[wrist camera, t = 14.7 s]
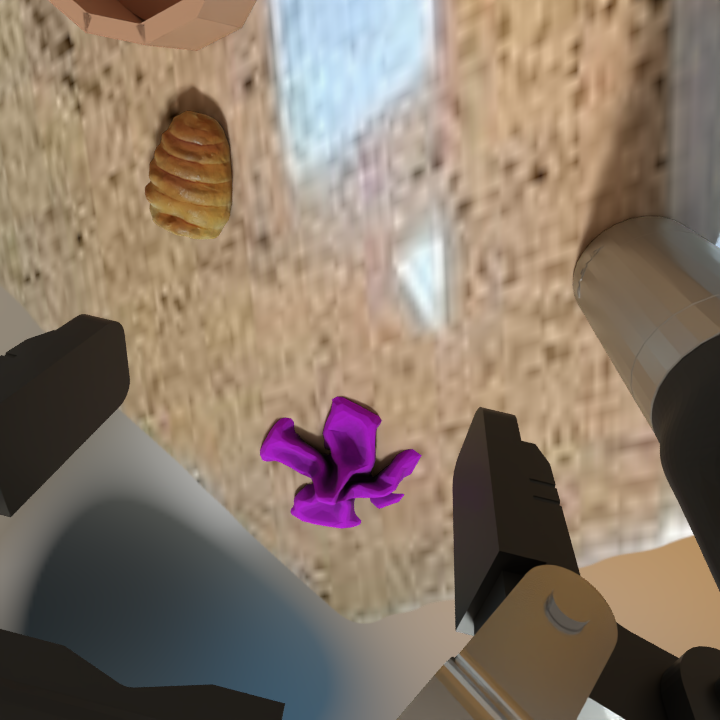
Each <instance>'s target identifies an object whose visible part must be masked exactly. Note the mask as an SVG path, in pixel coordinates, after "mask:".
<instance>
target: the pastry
mask: <svg viewBox="0 0 720 720" xmlns="http://www.w3.org/2000/svg"><path fill="white" fill-rule="evenodd" d="M149 178H150V180H151V181H150V183H149V184H148V185H146V187H145V195H146V198H147V200H148V201H149V202H150V212H151V215H152V217H153V221H154V222H155V224H156V225H158V226H159V227H162V228H163V229H165V230H167V231H169V232H171V233H174V234H176V235H179V236H186V237H189V238H193V239H214V238H216V237H217V236H219V234H220V233H221V231H222V229H223V227H224V226H225V224H226V223H227V221H228V220H229V216H230V211H231V205H232V175H231V161H230V150H229V144H228V141H227V139H226V136H225V133H224V130H223V128H222V127H221V125H220V124H219V123H218V122H217V121H216V120H215V119H214V118H212V117H210V116H208V115H205V114H201V113H196V112H193V111H185V112H183V113H181V114H180V115H178V116H176V117H174V118H173V120H172V123H171V124H170V126H169V128H168V130H166V131H165V132H164V133H163V134H162V139H161V142H160V144H159V145H158V147H157V148H156V150H155V152H154V159H153V160H152V161H151V162H150V171H149Z"/></svg>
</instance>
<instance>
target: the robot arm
mask: <svg viewBox="0 0 720 720" xmlns="http://www.w3.org/2000/svg"><path fill="white" fill-rule="evenodd" d="M573 290H574V296H575V298H576V300H577V303H578V305H579V307H580V308H581V310H582V312H583V313H584V315H585V317H586V318H587V320H588V322H589V324H590V326H591V327H592V329H593V331H594V332H595V334H596V336H597V338H598V339H599V341H600V343H601V344H602V346H603V348H604V349H605V351H606V353H607V354H608V356H609V358H610V359H611V361H612V363H613V365H614V366H615V368H616V370H617V371H618V373H619V375H620V376H621V378H622V380H623V381H624V383H625V385H626V386H627V388H628V390H629V392H630V393H631V395H632V397H633V398H634V400H635V402H636V403H637V405H638V407H639V408H640V410H641V411H642V413H643V415H644V417H645V418H646V420H647V422H648V423H649V425H650V427H651V428H652V430H653V432H654V433H655V435H656V437H657V439H658V441H659V443H660V458H661V464H662V467H663V470H664V473H665V476H666V478H667V480H668V482H669V484H670V486H671V488H672V490H673V492H674V494H675V496H676V498H677V500H678V502H679V504H680V506H681V508H682V511H683V513H684V515H685V517H686V519H687V521H688V523H689V525H690V527H691V530H692V532H693V534H694V536H695V538H696V540H697V543H698V545H699V547H700V549H701V551H702V554H703V556H704V558H705V560H706V562H707V565H708V567H709V569H710V571H711V573H712V576H713V578H714V580H715V582H716V584H717V587H718V589H719V591H720V248H719V247H717V246H716V245H714V244H712V243H711V242H709V241H708V240H707V239H705V238H703V237H702V236H700V235H699V234H697V233H695V232H694V231H692V230H690V229H689V228H687V227H686V226H684V225H682V224H680V223H678V222H676V221H674V220H672V219H668V218H664V217H659V216H644V217H638V218H633V219H629V220H626V221H623V222H621V223H618V224H616V225H614V226H612V227H611V228H609V229H607V230H605V231H604V232H602V233H601V234H600V235H599V236H598V237H596V238H595V239H594V240H593V241H592V242H591V243H590V244H589V246H588V247H587V248H586V249H585V250H584V252H583V253H582V255H581V257H580V259H579V260H578V262H577V265H576V268H575V271H574V276H573ZM129 384H130V376H129V368H128V359H127V351H126V342H125V334H124V329H123V327H122V325H121V324H120V323H119V322H116V321H112V320H108V319H103V318H99V317H95V316H90V315H86V314H82V315H79V316H77V317H75V318H74V319H72V320H71V321H69V322H68V323H66V324H65V325H63V326H62V327H60V328H58V329H57V330H53V331H50V332H47V333H44V334H41V335H38V336H35V337H32V338H29V339H27V340H25V341H24V342H22V343H20V344H19V345H17V346H15V347H14V348H12V349H11V350H9V351H8V352H6V355H5V356H2V355H1V356H0V515H4V516H8V517H11V516H12V515H13V514H14V513H15V512H16V511H17V510H18V509H19V508H20V507H21V506H22V505H23V504H24V503H25V502H26V501H27V500H28V499H29V498H30V497H31V496H32V495H33V494H34V493H35V492H36V491H37V490H38V489H39V488H40V487H41V486H42V485H43V484H44V483H45V482H46V481H47V480H48V479H49V478H50V477H51V476H52V475H53V474H54V473H55V472H56V471H57V470H58V469H59V468H60V466H62V465H63V463H64V462H65V461H66V460H67V459H68V458H69V457H70V456H71V455H72V454H73V453H74V452H75V451H76V450H77V449H78V448H79V447H80V446H81V445H82V444H83V443H84V442H85V441H86V440H87V439H88V438H89V437H90V436H91V435H92V434H93V433H94V432H95V431H96V430H97V429H98V428H99V427H100V426H101V425H102V424H103V423H104V422H105V421H106V420H107V419H108V418H109V417H110V416H111V415H112V414H113V413H114V412H115V411H116V410H117V409H118V407H119V406H120V405H121V404H122V403H123V401H124V399H125V398H126V395H127V393H128V389H129ZM559 504H560V499H559V496H558V492H557V489H556V488H555V481H554V477H553V474H552V470H551V466H550V463H549V462H548V461H547V459H546V458H545V457H544V455H543V454H542V453H541V451H540V450H539V449H538V447H537V446H536V444H533V443H528V442H524V441H521V437H520V432H519V428H518V423H517V419H516V416H515V415H512V414H508V413H503V412H499V411H495V410H491V409H486V408H482V407H480V408H478V410H477V411H476V413H475V415H474V418H473V420H472V423H471V425H470V428H469V431H468V433H467V436H466V438H465V441H464V443H463V446H462V448H461V451H460V453H459V456H458V459H457V462H456V466H455V470H454V476H453V530H454V578H455V625H456V632H460V633H465V634H468V635H472V636H473V638H472V639H471V640H470V641H469V643H468V644H467V645H466V646H465V647H464V648H463V650H462V651H461V652H460V653H459V654H458V655H457V656H456V657H455V658H454V657H451V658H450V659H449V660H448V661H447V662H446V663H445V664H444V665H443V666H442V667H441V668H440V669H439V670H438V672H437V673H436V674H435V675H434V676H433V677H432V679H431V680H430V681H429V682H428V683H427V684H426V686H425V687H424V688H423V689H422V690H421V691H420V693H419V694H418V695H417V696H416V697H415V698H414V700H413V701H412V702H411V703H410V704H409V705H408V707H407V708H406V709H405V710H404V711H403V712H402V714H401V715H400V716H399V717H398V718H397V720H720V650H718V649H715V648H711V647H702V646H699V647H693V648H691V649H689V650H688V651H686V652H685V653H684V654H683V655H682V656H681V657H680V658H678V657H676V656H674V655H672V654H670V653H668V652H667V651H664V650H663V649H661V648H659V647H657V646H656V645H654V644H652V643H650V642H648V641H646V640H645V639H643V638H641V637H639V636H637V635H636V634H633V633H631V632H630V631H628V630H627V629H625V628H624V627H622V626H621V625H619V624H618V623H617V622H616V621H615V617H614V615H613V613H612V610H611V608H610V607H609V605H608V603H607V602H606V600H605V599H604V598H603V596H602V595H601V594H600V593H599V592H598V591H597V590H596V588H594V587H593V586H592V585H591V584H590V583H589V582H588V581H587V580H585V579H584V578H582V577H581V576H580V573H579V569H578V565H577V562H576V558H575V554H574V551H573V547H572V543H571V540H570V536H569V532H568V529H567V525H566V521H565V518H564V514H563V510H562V507H561V506H560V505H559ZM284 706H285V703H281V702H277V701H273V700H269V699H266V698H262V697H257V696H254V695H250V694H247V693H242V692H239V691H235V690H231V689H227V688H223V687H220V686H216V685H188V686H164V687H141V688H140V687H139V688H132V687H126V686H123V685H121V684H119V683H118V682H116V681H115V680H113V679H112V678H111V677H109V676H108V675H106V674H105V673H103V672H102V671H100V670H99V669H97V668H96V667H95V666H93V665H92V664H90V663H88V662H87V661H86V660H84V659H83V658H81V657H80V656H78V655H77V654H76V653H74V652H73V651H71V650H70V649H68V648H67V647H65V646H63V645H59V644H55V643H51V642H48V641H44V640H40V639H36V638H33V637H29V636H24V635H21V634H17V633H13V632H10V631H6V630H2V629H0V720H282V716H283V711H284Z"/></svg>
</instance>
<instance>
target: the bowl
mask: <svg viewBox="0 0 720 720" xmlns="http://www.w3.org/2000/svg"><path fill="white" fill-rule="evenodd" d="M48 1H50V2H51V3H52V4H53V5H54V6H55V7H57V8H58V9H59V10H60V11H61V12H62V13H63V14H65V15H66V16H67V17H68V18H69V19H70V20H72V21H73V22H74V23H75V24H76V25H77V26H79V27H80V28H81V29H82V30H83V31H84V32H85V33H90V34H95V35H99V36H104V37H109V38H114V39H119V40H123V41H128V42H133V43H138V44H143V45H148V46H157V47H167V48H177V49H187V50H196V51H197V50H199V49H201V48H203V47H205V46H207V45H209V44H211V43H213V42H215V41H217V40H219V39H221V38H223V37H225V36H227V35H229V34H231V33H233V32H235V31H237V30H239V29H241V28H242V26H243V25H244V23H245V21H246V19H247V17H248V15H249V13H250V12H251V10H252V8H253V6H254V4H255V2H256V0H48Z"/></svg>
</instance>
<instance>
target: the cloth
mask: <svg viewBox="0 0 720 720" xmlns="http://www.w3.org/2000/svg"><path fill="white" fill-rule="evenodd" d="M332 401H333V402H332V407H331V412H330V414H329V416H328V419H327V421H326V424H325V427H324V430H323V436H324V447H325V449H327V450H330V451H331V454H330V455H326V454H322V453H320V452H318V451H317V450H316V449H315V448H313V447H311V446H310V445H308V444H306V443H305V442H304V441H303V440H302V439H301V438H300V436H299V435H298V434H297V433H296V432H295V430H294V422H293V420H292V419H291V418H281V420H279V421H278V422H277V423H276V424H275V425H274V426H273V428H272V429H271V430H270V432H269V434H268V436H267V438H266V439H265V441H264V442H263V445H262V447H261V449H260V456H261V458H262V460H264V461H278V462H281V463H283V464H285V465H287V466H289V467H291V468H292V469H294V470H296V471H297V472H299V473H301V474H303V475H305V476H307V477H310V478H311V479H312V481H313V484H308V485H306V486H305V487H304V488H303V489H302V490H301V491H299V493H298V494H297V495H296V496H295V498H294V506H293V508H292V509H291V514H292V515H293V516H295V517H297V518H299V519H300V520H302V521H305V522H308V523H312V524H317V525H323V526H329V527H336V528H349V527H354V526H357V525H359V524H360V523H361V520H360V519H359V518H358V517H357V516H356V514H355V511H354V500H355V498H370V500H371V502H372V503H373V504H374V505H375V506H376V507H377V508H379V509H380V508H383V507H385V506H388V505H391V504H394V503H397V502H399V501H400V499H401V498H402V497H403V496H404V494H394V493H392V492H393V491H395V490H396V488H397V486H398V484H399V483H400V482H401V480H402V479H403V478H404V477H406V476H408V475H410V474H411V473H412V471H413V470H414V468H415V466H416V464H417V463H418V461H419V459H420V457H421V455H420V454H419V453H417V452H416V451H415V450H413V449H409V450H405V451H403V452H401V453H399V454H398V455H396V457H395V458H394V459H393V461H392V462H391V464H390V465H389V466H387V467H386V468H385V469H383V470H382V471H381V472H380V473H379V475H378V476H374V477H373V476H372V475H371V470H372V468H373V466H374V463H375V460H376V451H375V438H376V430H377V427H378V426H379V425H380V423H381V421H382V420H381V419H380V417H379V416H378V415H376V414H374V413H372V412H370V411H368V410H367V409H365V408H363V407H361V406H359V405H357V404H356V403H353V402H351V401H349V400H347V399H346V398H343V397H336V398H334V399H332Z"/></svg>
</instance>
